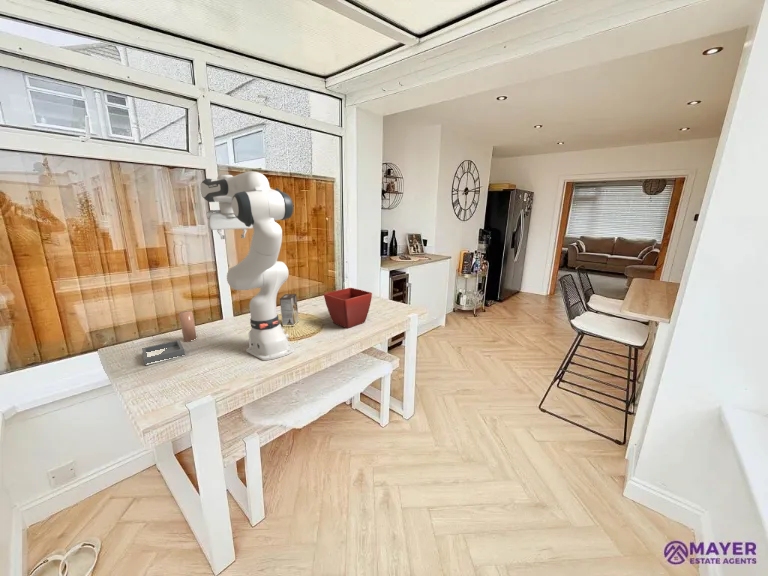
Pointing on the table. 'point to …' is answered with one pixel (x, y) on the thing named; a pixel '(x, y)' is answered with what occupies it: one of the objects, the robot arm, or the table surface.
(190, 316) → the terracotta jar
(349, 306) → the plant pot
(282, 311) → the coffee box
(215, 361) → the table surface
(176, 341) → the box
